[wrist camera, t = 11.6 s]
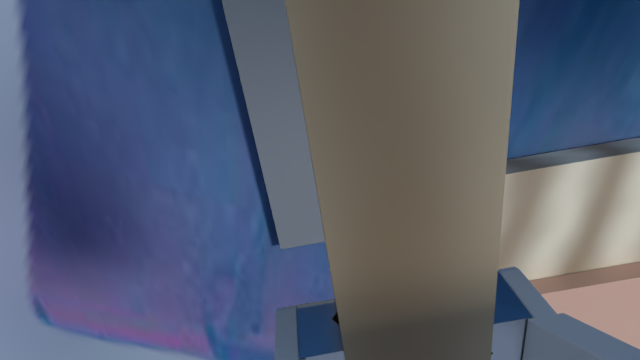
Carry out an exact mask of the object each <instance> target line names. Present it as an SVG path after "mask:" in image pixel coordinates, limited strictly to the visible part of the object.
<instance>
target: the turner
mask: <svg viewBox="0 0 640 360" xmlns="http://www.w3.org/2000/svg"><path fill="white" fill-rule="evenodd" d="M284 1H285V7H286V13H287V19H288V25H289V31H290V37H291V43H292V49H293V54H294V60H295V66H296V72H297V78H298V84H299V90H300V96H301V102H302V108H303V114H304V119H305V125H306V131H307V137H308V143H309V149H310V155H311V161H312V167H313V173H314V178H315V184H316V190H317V196H318V202H319V208H320V214H321V220H322V226H323V232H324V238H325V243H326V249H327V255H328V261H329V267H330V273H331V279H332V285H333V291H334V297H335V301H336V307H337V313H338V319H339V325H340V330H341V336H342V342H343V348H344V353H345V359H346V360H491V350H492V337H493V325H494V312H495V300H496V287H497V275H498V262H499V250H500V238H501V225H502V213H503V200H504V188H505V175H506V163H507V150H508V138H509V125H510V113H511V101H512V88H513V76H514V63H515V51H516V38H517V26H518V13H519V1H520V0H284Z"/></svg>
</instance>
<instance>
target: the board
mask: <svg viewBox="0 0 640 360" xmlns="http://www.w3.org/2000/svg"><path fill="white" fill-rule="evenodd" d="M637 262H640V137H638V138H632V139H626V140H620V141H615V142H609V143H603V144H597V145H591V146H585V147H579V148H573V149H567V150H561V151H555V152H549V153H543V154H538V155H532V156H526V157H520V158H514V159H508V160H507V163H506V175H505V188H504V200H503V213H502V225H501V238H500V250H499V262H498V270H499V269H504V268H509V267H517V268H518V269H520V271H521V272H522V273H523V274H524V275H525V276H526V278H527V279H528V280H529V281H532V280H538V279H543V278H549V277H555V276H561V275H567V274H573V273H578V272H584V271H590V270H596V269H602V268H607V267H613V266H619V265H625V264H631V263H637Z"/></svg>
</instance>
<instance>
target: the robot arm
mask: <svg viewBox="0 0 640 360" xmlns="http://www.w3.org/2000/svg"><path fill="white" fill-rule="evenodd" d="M275 360H346V359H345V353H344V348H343V342H342V336H341V330H340V325H339V319H338V313H337V307H336V301H335V299H332V300H325V301H319V302H312V303H305V304H299V305H296V306H289V307H282V308H277V309H276V313H275ZM491 360H640V349H638V348H636V347H633V346H631V345H629V344H627V343H625V342H623V341H621V340H619V339H617V338H615V337H613V336H611V335H609V334H606V333H604V332H602V331H600V330H598V329H596V328H594V327H592V326H590V325H588V324H586V323H584V322H581V321H579V320H577V319H575V318H573V317H571V316H569V315H567V314H565V313H560V314H557V313H556V312H555V310H554V309H553V308H552V307H551V306H550V305H549V303H548V302H547V301H546V300H545V299H544V298H543V296H542V295H541V294H540V293H539V292H538V291H537V289H536V288H535V287H534V286H533V285H532V283H531V282H530V281H529V280H528V279H527V278H526V276H525V275H524V274H523V273H522V272H521V271H520V269H518V268H517V267H509V268H504V269H499V270H498V275H497V287H496V300H495V312H494V325H493V337H492V350H491Z"/></svg>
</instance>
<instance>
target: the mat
mask: <svg viewBox="0 0 640 360" xmlns="http://www.w3.org/2000/svg"><path fill="white" fill-rule="evenodd" d="M222 4H223V8H224V13H225V17H226V21H227V25H228V29H229V34H230V38H231V42H232V46H233V50H234V55H235V59H236V63H237V67H238V71H239V76H240V80H241V84H242V88H243V93H244V97H245V101H246V105H247V109H248V114H249V118H250V122H251V126H252V130H253V135H254V139H255V143H256V147H257V151H258V156H259V160H260V164H261V168H262V173H263V177H264V181H265V185H266V189H267V194H268V198H269V202H270V206H271V210H272V215H273V219H274V223H275V227H276V231H277V236H278V240H279V244H280V248H281V249H285V248H291V247H296V246H302V245H308V244H314V243H320V242H325V238H324V232H323V226H322V220H321V214H320V208H319V202H318V196H317V190H316V184H315V178H314V173H313V167H312V161H311V155H310V149H309V143H308V137H307V131H306V125H305V119H304V114H303V108H302V102H301V96H300V90H299V84H298V78H297V72H296V66H295V60H294V54H293V49H292V43H291V37H290V31H289V25H288V19H287V13H286V7H285V1H284V0H222Z"/></svg>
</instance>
